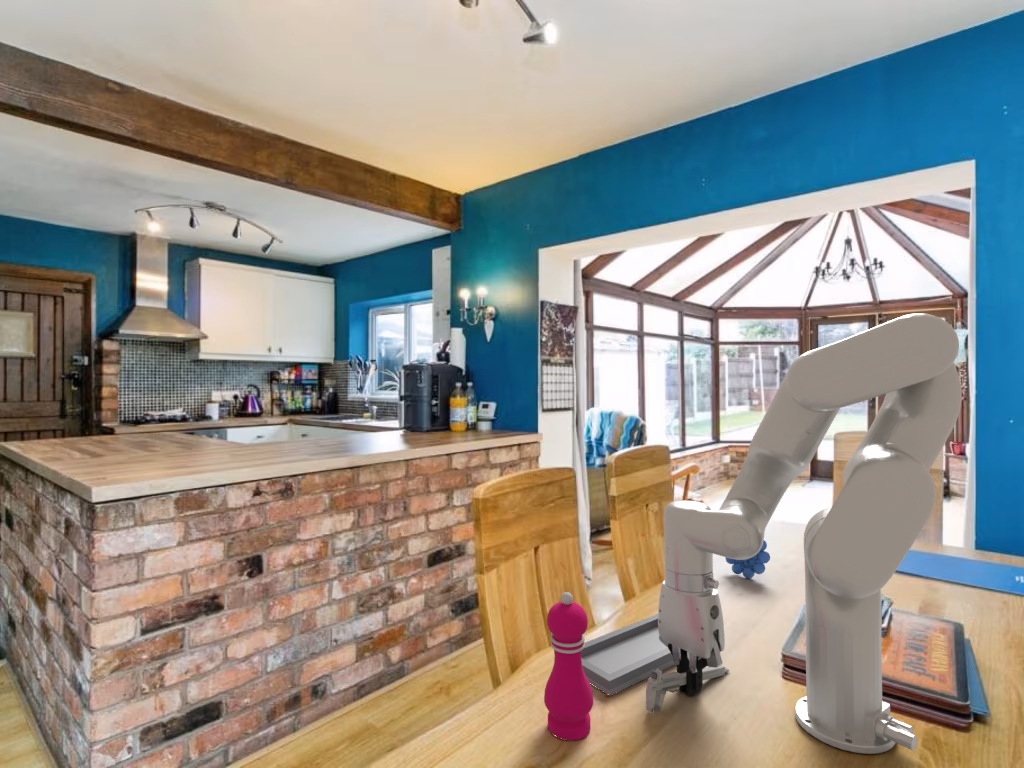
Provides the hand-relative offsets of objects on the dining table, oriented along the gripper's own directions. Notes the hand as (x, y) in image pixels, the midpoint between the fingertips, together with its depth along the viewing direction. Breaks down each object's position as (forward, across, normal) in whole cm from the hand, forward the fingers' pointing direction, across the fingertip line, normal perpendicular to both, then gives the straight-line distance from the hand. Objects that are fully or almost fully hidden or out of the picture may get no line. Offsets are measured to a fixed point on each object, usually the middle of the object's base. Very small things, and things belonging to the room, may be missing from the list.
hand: (689, 689), depth 91 cm
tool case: (0, +13, -2) cm, 13 cm away
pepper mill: (+1, +5, +22) cm, 22 cm away
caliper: (+1, 0, 0) cm, 1 cm away
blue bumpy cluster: (0, +23, -55) cm, 60 cm away
